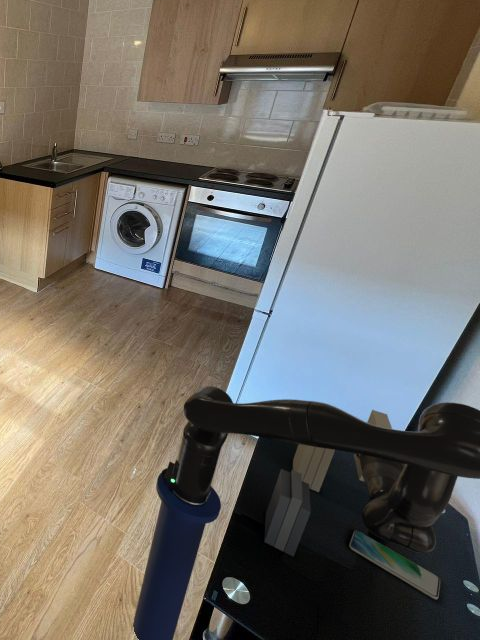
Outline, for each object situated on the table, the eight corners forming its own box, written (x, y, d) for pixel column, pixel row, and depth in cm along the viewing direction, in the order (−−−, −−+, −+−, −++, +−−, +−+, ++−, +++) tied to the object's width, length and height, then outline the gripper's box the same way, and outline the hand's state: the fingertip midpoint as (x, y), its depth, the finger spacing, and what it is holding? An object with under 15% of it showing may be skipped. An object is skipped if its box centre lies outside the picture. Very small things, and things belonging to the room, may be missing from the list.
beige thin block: (359, 479, 109) (378, 431, 104) (354, 455, 117) (372, 409, 112) (374, 485, 107) (395, 436, 102) (368, 460, 115) (387, 414, 111)
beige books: (293, 481, 119) (309, 435, 114) (292, 460, 127) (308, 416, 122) (318, 492, 116) (337, 445, 111) (316, 470, 123) (334, 425, 118)
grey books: (264, 542, 101) (281, 491, 96) (265, 513, 109) (282, 465, 104) (293, 556, 98) (313, 505, 93) (293, 526, 106) (311, 477, 100)
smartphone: (438, 599, 89) (349, 545, 100) (437, 602, 89) (348, 548, 100) (441, 577, 93) (355, 528, 104) (439, 580, 94) (354, 531, 105)
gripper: (431, 480, 93) (413, 438, 107) (350, 451, 101) (343, 415, 115) (419, 505, 96) (403, 461, 109) (341, 474, 104) (335, 436, 117)
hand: (372, 437), depth 112 cm, fingers closed on beige thin block, 3 cm apart
